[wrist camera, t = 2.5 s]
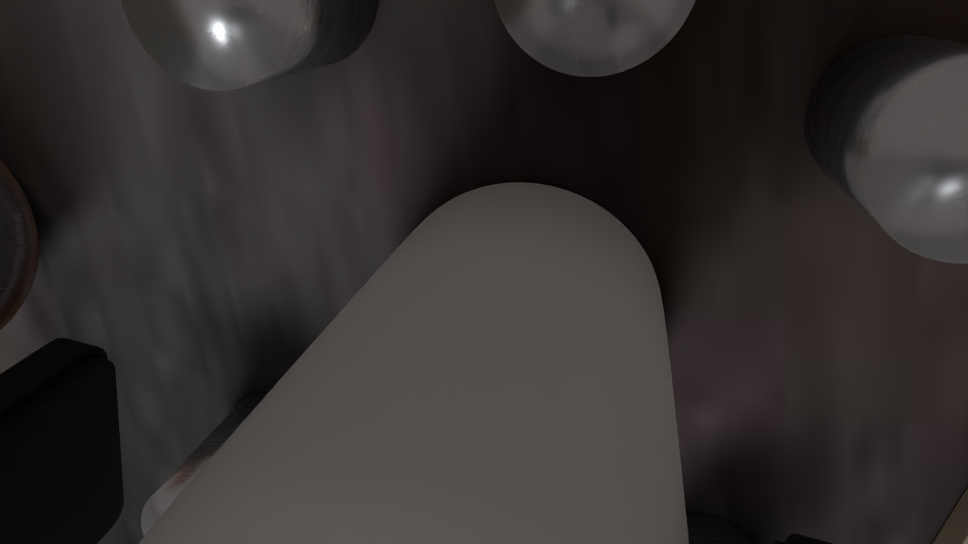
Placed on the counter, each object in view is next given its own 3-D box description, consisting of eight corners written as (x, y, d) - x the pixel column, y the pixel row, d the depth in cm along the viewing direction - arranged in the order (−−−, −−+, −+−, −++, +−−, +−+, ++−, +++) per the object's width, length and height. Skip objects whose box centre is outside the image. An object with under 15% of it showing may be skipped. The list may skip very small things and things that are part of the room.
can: (656, 429, 17) (701, 1218, 6) (408, 410, 18) (81, 1034, 7) (672, 176, 14) (794, 745, 4) (384, 174, 16) (-157, 591, 5)
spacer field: (1050, -36, 12) (1235, -46, 8) (716, 648, 19) (736, 801, 16) (249, -184, 13) (109, -248, 10) (229, 501, 21) (144, 608, 17)
